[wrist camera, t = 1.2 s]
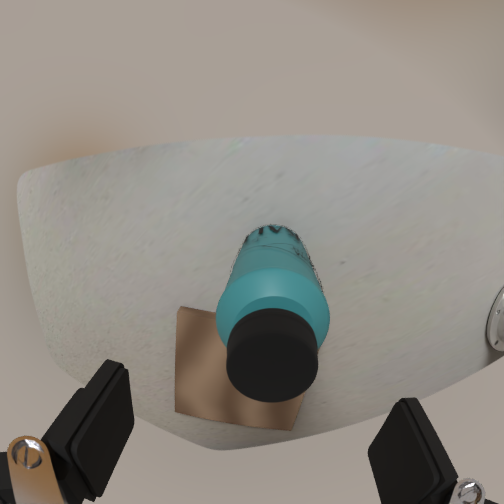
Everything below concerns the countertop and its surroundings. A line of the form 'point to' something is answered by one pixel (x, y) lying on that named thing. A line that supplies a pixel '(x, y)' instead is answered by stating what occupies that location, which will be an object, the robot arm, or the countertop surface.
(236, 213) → the countertop surface
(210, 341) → the walnut board
